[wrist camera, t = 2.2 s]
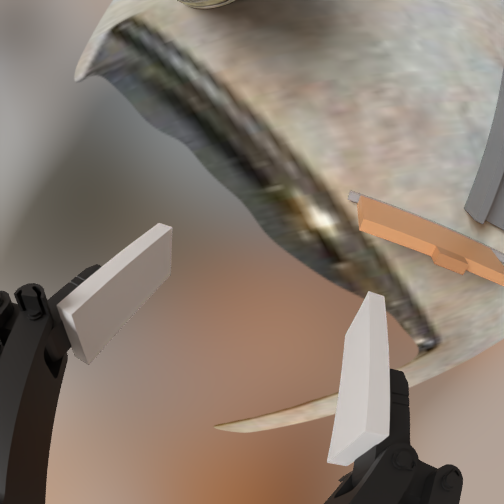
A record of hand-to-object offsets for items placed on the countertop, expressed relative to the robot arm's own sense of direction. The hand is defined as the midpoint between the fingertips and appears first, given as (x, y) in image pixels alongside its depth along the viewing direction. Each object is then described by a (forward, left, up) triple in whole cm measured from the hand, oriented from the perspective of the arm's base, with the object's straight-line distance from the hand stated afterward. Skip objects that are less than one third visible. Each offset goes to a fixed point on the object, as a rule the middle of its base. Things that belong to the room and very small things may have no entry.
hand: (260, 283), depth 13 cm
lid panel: (0, +13, -17) cm, 21 cm away
